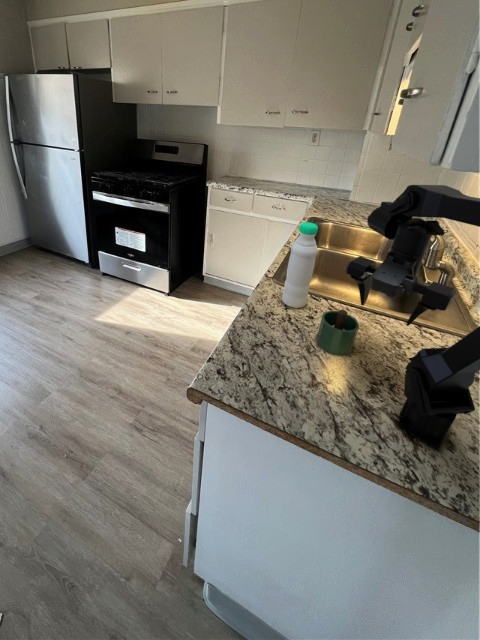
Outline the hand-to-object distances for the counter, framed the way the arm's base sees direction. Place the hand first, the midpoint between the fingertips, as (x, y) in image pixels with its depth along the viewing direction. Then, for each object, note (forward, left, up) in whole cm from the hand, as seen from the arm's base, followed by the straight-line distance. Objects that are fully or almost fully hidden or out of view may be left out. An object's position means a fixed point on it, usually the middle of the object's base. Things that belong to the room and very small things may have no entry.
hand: (384, 314), depth 68 cm
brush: (+8, +1, -12) cm, 15 cm away
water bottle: (+25, -7, -13) cm, 29 cm away
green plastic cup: (+8, +1, -13) cm, 15 cm away
